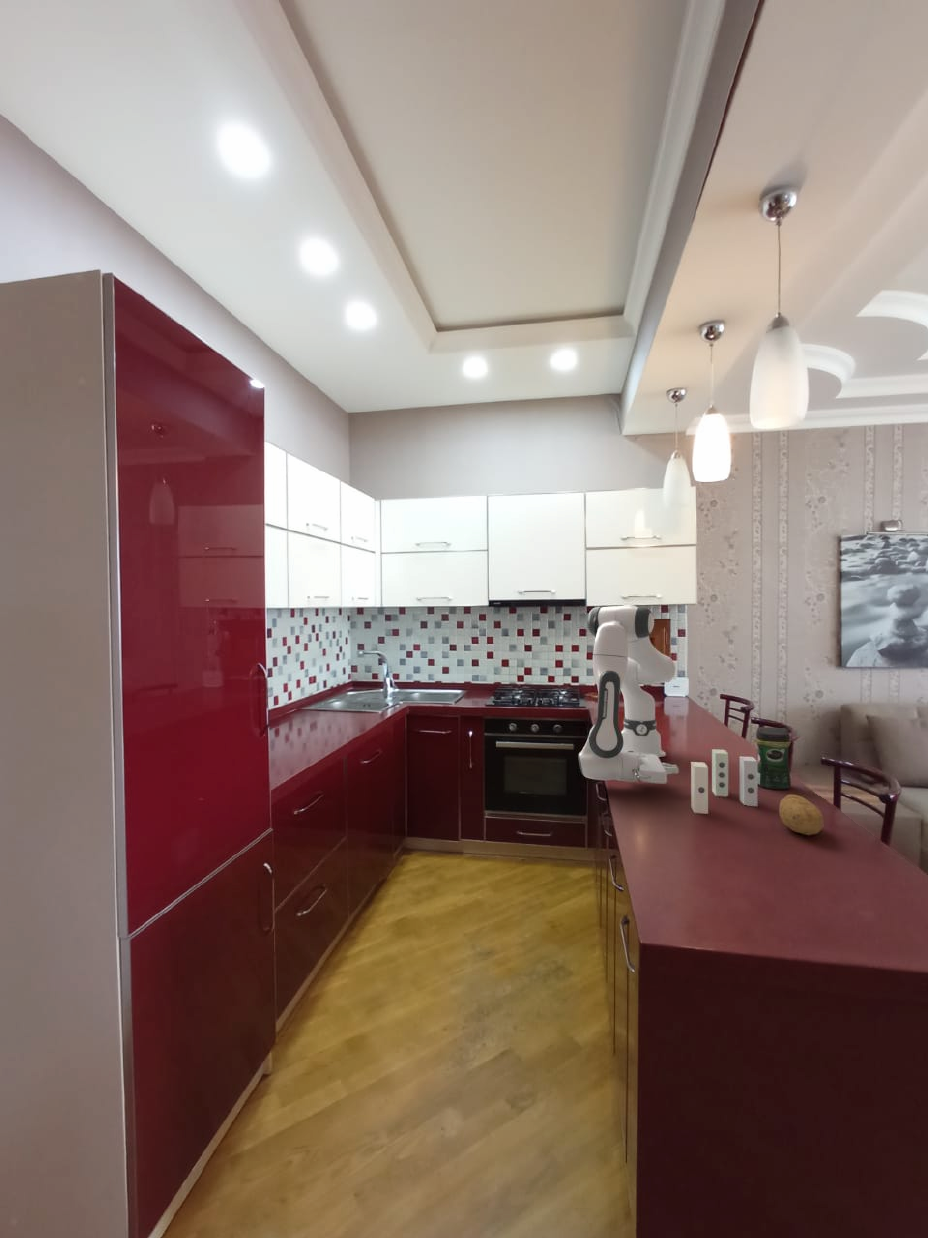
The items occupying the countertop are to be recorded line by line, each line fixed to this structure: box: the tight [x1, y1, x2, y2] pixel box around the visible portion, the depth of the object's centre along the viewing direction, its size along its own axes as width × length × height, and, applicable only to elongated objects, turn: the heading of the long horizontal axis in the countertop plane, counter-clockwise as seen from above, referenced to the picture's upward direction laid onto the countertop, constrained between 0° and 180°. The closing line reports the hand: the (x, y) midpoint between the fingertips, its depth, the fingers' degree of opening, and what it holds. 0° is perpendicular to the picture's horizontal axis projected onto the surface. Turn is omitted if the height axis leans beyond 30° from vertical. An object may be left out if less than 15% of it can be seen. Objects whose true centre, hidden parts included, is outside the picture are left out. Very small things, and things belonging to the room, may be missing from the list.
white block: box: [711, 749, 729, 797], centre depth 166 cm, size 5×4×13 cm
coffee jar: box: [755, 726, 792, 790], centre depth 172 cm, size 10×8×19 cm
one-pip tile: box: [690, 761, 709, 815], centre depth 153 cm, size 5×4×13 cm
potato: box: [778, 794, 825, 837], centre depth 138 cm, size 10×14×8 cm
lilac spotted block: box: [739, 756, 758, 807], centre depth 158 cm, size 5×4×13 cm
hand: (677, 769), depth 168 cm, fingers closed
